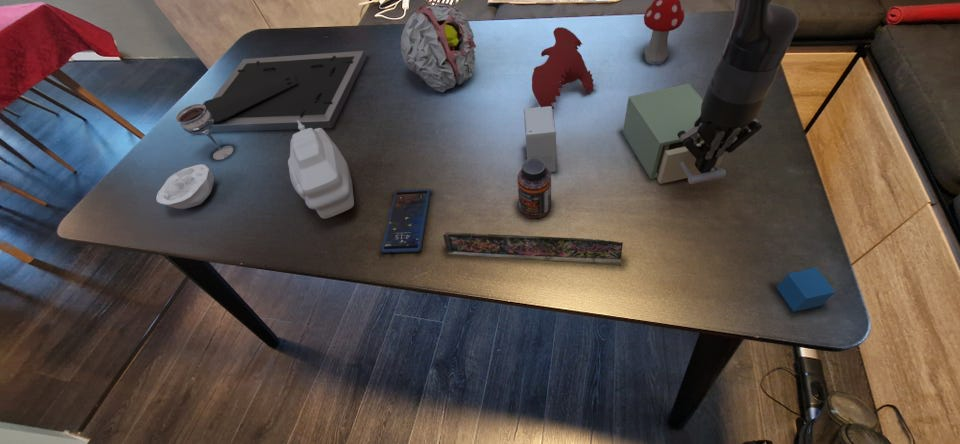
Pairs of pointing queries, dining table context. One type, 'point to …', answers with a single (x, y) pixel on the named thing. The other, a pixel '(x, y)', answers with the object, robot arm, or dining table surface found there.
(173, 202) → the cell model
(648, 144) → the drawer cabinet
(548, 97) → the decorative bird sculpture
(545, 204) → the supplement bottle
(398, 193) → the smartphone
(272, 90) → the picture frame
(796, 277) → the matte blue cube
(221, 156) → the wineglass
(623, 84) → the dining table surface
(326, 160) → the white tiered sculpture
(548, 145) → the small box
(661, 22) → the decorative mushroom
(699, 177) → the beige drawer
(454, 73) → the decorative sculpture
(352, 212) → the dining table surface
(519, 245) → the incense holder
